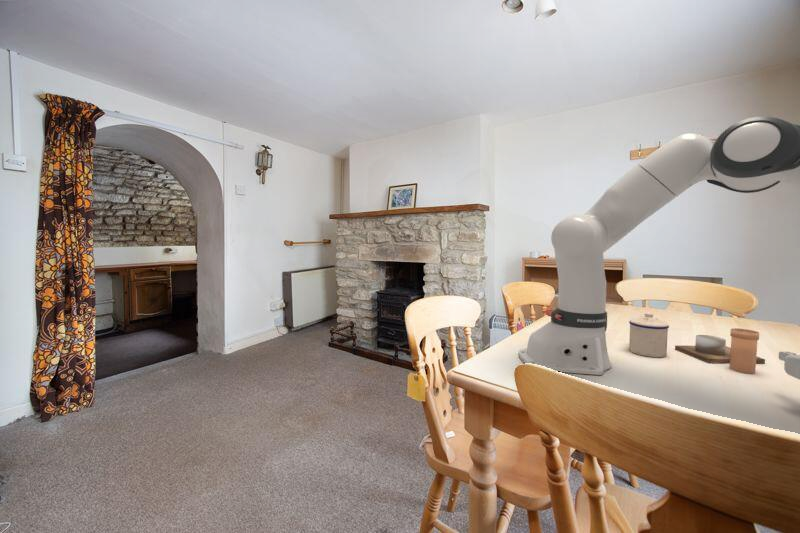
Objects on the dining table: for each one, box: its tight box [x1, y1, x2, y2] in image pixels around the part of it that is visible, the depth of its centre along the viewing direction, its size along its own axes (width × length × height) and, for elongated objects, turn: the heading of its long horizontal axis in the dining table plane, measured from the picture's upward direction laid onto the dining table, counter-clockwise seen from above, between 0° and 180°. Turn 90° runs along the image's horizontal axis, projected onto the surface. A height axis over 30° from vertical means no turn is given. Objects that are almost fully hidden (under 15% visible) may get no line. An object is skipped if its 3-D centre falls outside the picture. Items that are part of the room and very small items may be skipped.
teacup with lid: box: [628, 312, 670, 358], centre depth 93 cm, size 12×9×12 cm
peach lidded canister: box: [729, 327, 760, 375], centre depth 79 cm, size 5×5×10 cm
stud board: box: [674, 334, 766, 365], centre depth 89 cm, size 14×11×5 cm
